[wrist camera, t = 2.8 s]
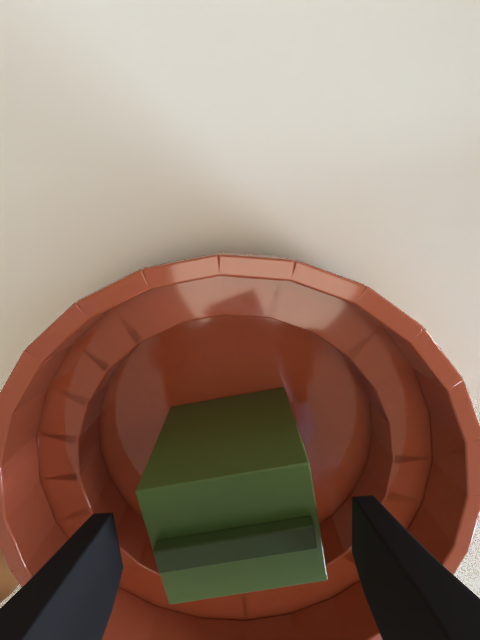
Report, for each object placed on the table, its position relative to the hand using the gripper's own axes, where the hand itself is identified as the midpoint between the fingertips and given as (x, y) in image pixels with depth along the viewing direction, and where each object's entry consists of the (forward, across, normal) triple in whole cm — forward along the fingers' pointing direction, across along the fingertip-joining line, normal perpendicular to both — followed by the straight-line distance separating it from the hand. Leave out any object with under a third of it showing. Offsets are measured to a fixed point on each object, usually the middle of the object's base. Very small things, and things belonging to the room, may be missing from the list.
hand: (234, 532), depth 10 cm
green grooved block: (+5, 0, 0) cm, 5 cm away
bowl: (+5, 0, 0) cm, 5 cm away
